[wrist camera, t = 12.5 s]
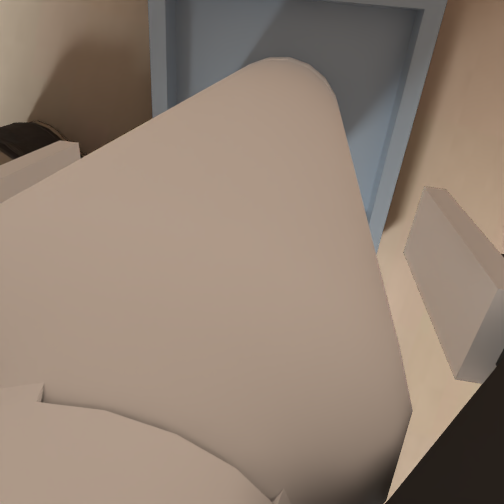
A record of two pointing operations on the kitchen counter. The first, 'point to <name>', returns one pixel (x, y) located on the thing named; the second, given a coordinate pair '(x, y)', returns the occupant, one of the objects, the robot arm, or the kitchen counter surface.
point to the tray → (319, 57)
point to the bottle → (201, 312)
